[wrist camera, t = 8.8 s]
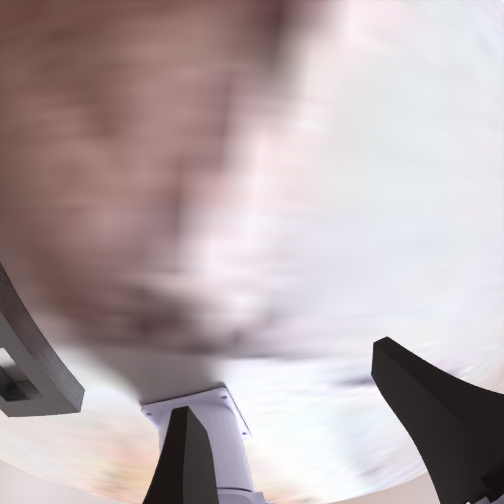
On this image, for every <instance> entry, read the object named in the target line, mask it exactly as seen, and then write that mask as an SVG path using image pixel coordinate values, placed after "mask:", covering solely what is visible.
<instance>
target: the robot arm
mask: <svg viewBox="0 0 504 504" xmlns="http://www.w3.org/2000/svg"><path fill="white" fill-rule="evenodd" d="M371 375H372V377H373V379H374V381H375V383H376V385H377V387H378V389H379V391H380V392H381V394H382V396H383V397H384V399H385V400H386V402H387V403H388V405H389V406H390V407H391V409H392V410H393V412H394V413H395V415H396V416H397V417H398V419H399V420H400V422H401V423H402V424H403V426H404V427H405V429H406V430H407V432H408V433H409V435H410V436H411V438H412V440H413V441H414V443H415V445H416V447H417V449H418V451H419V453H420V455H421V457H422V459H423V461H424V463H425V465H426V468H427V470H428V472H429V474H430V476H431V479H432V482H433V484H434V486H435V489H436V492H437V495H438V498H439V501H440V504H466V503H467V502H469V503H470V504H504V394H501V393H497V392H493V391H490V390H486V389H483V388H480V387H478V386H475V385H472V384H470V383H467V382H465V381H463V380H461V379H458V378H456V377H454V376H452V375H450V374H448V373H446V372H444V371H442V370H441V369H439V368H437V367H435V366H433V365H432V364H430V363H428V362H427V361H425V360H423V359H422V358H420V357H418V356H417V355H415V354H414V353H412V352H410V351H409V350H407V349H406V348H404V347H403V346H401V345H400V344H398V343H397V342H395V341H394V340H392V339H391V338H389V337H385V338H382V339H380V340H378V341H376V342H374V343H373V359H372V371H371ZM141 411H142V413H143V414H144V415H145V416H146V417H147V418H148V419H149V421H150V422H151V423H152V424H153V425H154V426H155V427H156V428H157V429H158V430H159V447H160V458H159V461H158V464H157V467H156V470H155V473H154V476H153V479H152V482H151V484H150V487H149V489H148V492H147V494H146V497H145V499H144V501H143V503H142V504H274V503H273V502H271V501H265V499H264V496H263V493H262V492H254V484H253V479H252V476H251V472H250V468H249V464H248V460H247V456H246V452H245V448H244V444H243V440H247V439H250V438H251V433H250V432H249V430H248V428H247V426H246V424H245V422H244V420H243V419H242V417H241V415H240V413H239V411H238V409H237V407H236V405H235V403H234V402H233V400H232V398H231V396H230V394H229V392H228V390H227V389H226V388H218V389H214V390H210V391H206V392H202V393H198V394H194V395H190V396H186V397H181V398H177V399H172V400H167V401H163V402H158V403H153V404H147V405H143V406H142V407H141Z"/></svg>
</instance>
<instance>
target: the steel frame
mask: <svg viewBox="0 0 504 504" xmlns="http://www.w3.org/2000/svg"><path fill="white" fill-rule="evenodd" d="M3 347H4V349H5V350H6V351H7V353H8V354H9V355H10V357H11V358H12V359H13V360H14V362H15V363H16V364H17V366H18V367H19V368H20V369H21V370H22V372H23V373H24V374H25V375H26V377H27V378H28V379H29V381H23V382H16V383H14V382H13V381H12V380H11V379H10V377H9V376H8V375H7V374H6V373H5V371H4V370H3V369H2V368H1V367H0V409H1V410H2V411H3V412H4V413H5V414H6V415H7V416H8V417H26V416H45V415H58V414H69V413H78V412H80V411H81V406H82V401H83V396H84V392H85V390H84V389H83V387H82V386H81V385H80V384H79V383H78V381H77V380H76V379H75V378H74V377H73V375H72V374H71V373H70V372H69V370H68V369H67V368H66V367H65V365H64V364H63V363H62V361H61V360H60V359H59V358H58V356H57V355H56V354H55V352H54V351H53V349H52V348H51V347H50V345H49V344H48V342H47V341H46V340H45V338H44V337H43V335H42V334H41V332H40V331H39V329H38V328H37V326H36V325H35V323H34V322H33V320H32V319H31V317H30V316H29V314H28V312H27V311H26V309H25V307H24V306H23V304H22V302H21V301H20V299H19V297H18V296H17V294H16V292H15V290H14V289H13V287H12V285H11V283H10V281H9V279H8V278H7V276H6V274H5V272H4V270H3V268H2V266H1V264H0V348H3Z"/></svg>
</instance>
